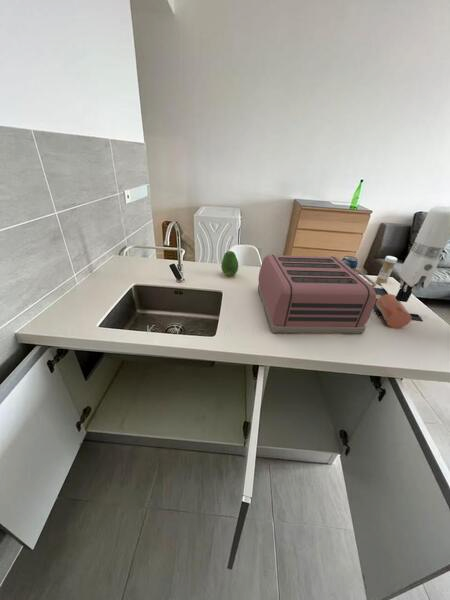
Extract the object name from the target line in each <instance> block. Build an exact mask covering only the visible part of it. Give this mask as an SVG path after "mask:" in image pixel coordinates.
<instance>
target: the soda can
mask: <svg viewBox="0 0 450 600" xmlns="http://www.w3.org/2000/svg"><path fill="white" fill-rule="evenodd" d="M340 260H341V261H343V262H344V263H345V264H346V265H347V266H349V267H350V268H352V269H357V266H358V263H359V262H358V258H357V257H355V256H351V255H345V256H343V257H342V259H340Z"/></svg>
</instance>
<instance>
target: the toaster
mask: <svg viewBox="0 0 450 600" xmlns="http://www.w3.org/2000/svg"><path fill="white" fill-rule="evenodd" d="M341 260H342V259H340V258H339V257H337V256H316V255H285V254H284V255H282V254H268V255H266V256H265V257H264V258H263V259H262V263H261V265H260V268H259V273H258V278H257V279H258V285H257V292H258V294H259V297H260V301H261V304H262V306H263V310H264V312H265V315H266V318H267V322H268V324H269V327H270V330H271V333H272V334H363V333H364V332H365V331H366V328H367V327H366V326H365V325H366V324H367V323H368V321H370V317H371V316H372V313H373V311H374V309H373V307H374V304H375V299H376V293H375V290H374V288H376V285H377V283H376V282H374V281H373V280H372V279H371V278H370V277H368V276H367V275H365V273H363V272H362V271H361V270H359V269H358V268H356V269H352V268H350V267H349V266H347V265H346V264H345V263H344V262H343V261H341ZM364 278H365V279H364ZM367 281H368V282H367ZM369 282H370V283H369ZM373 287H374V288H373Z"/></svg>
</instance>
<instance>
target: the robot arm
mask: <svg viewBox="0 0 450 600" xmlns="http://www.w3.org/2000/svg"><path fill="white" fill-rule="evenodd" d="M449 240H450V206H434V207H431V208H430V209H429V210H428V212H427V214H426V216H425V218H424V221H423V223H422V224H421V226H420V229H419V231H418V233H417V235H416V238H415V240H414V241H413V244H412V246H411V247H410V250H409V253H408V255H407V256H406V257H405V260H404V262H403V264H402V266H401V267H400V270H399V273H398V275H399V277H400V281H401V282H400V285H399V289H398V291H397V293H396V295H395V296H396V299H397V301H400V302H401V303H407V302H408V301H409V299H410V297H411V295H412V294H413V293H419V292H420V290H421V288H422V289H428V286H429V285H430V283H431V280H432V279H433V277H434V275H435V273H436V270H437V267H438V264H439V261H440V256H441V255H442V253H443V250H444V249H445V247H446V245H447V243H448V242H449Z"/></svg>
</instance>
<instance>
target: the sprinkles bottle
mask: <svg viewBox="0 0 450 600" xmlns="http://www.w3.org/2000/svg"><path fill="white" fill-rule="evenodd" d="M397 262H398V258H397V257H395V256H392V255H386V256H385V258H384V261H383V264H382V266H381V268H380V271H379V272H378V275H377V278H376V280H375V284H376V285H379V286H382V284H387V282H388V280H389V278H390V276H391V274H392V272H393V269H394V267H395V265H396V263H397Z"/></svg>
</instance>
